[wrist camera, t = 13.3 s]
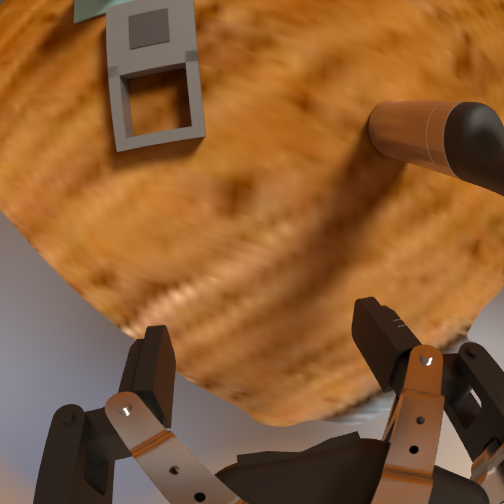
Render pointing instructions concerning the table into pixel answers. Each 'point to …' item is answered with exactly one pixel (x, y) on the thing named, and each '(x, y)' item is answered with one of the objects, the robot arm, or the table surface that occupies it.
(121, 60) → the slotted holder
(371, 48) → the table surface
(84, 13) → the tile
